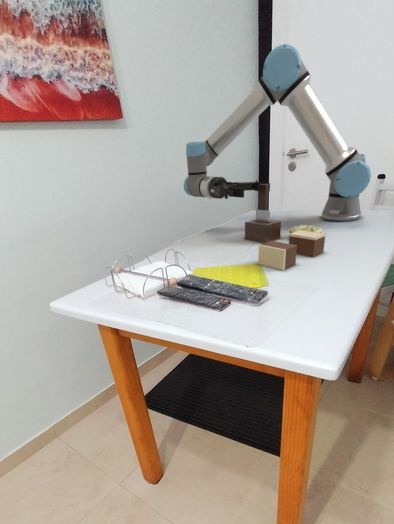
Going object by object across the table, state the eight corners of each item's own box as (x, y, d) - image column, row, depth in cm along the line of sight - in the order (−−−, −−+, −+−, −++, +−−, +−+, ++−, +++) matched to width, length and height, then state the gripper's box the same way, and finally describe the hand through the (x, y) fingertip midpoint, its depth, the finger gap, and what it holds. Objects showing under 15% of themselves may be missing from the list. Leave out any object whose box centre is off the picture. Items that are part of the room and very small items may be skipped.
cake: (298, 248, 110) (300, 230, 107) (323, 252, 104) (325, 233, 101) (288, 252, 107) (289, 233, 104) (312, 257, 101) (315, 237, 98)
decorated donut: (314, 243, 113) (316, 231, 111) (284, 240, 119) (285, 229, 117) (324, 235, 120) (326, 224, 118) (295, 233, 126) (296, 222, 124)
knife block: (259, 234, 128) (259, 218, 125) (280, 238, 122) (281, 220, 118) (244, 239, 124) (244, 222, 121) (266, 243, 117) (266, 225, 114)
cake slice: (271, 240, 99) (258, 244, 96) (297, 245, 93) (284, 250, 91) (270, 259, 102) (258, 264, 99) (295, 264, 96) (283, 270, 93)
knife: (257, 237, 125) (258, 183, 116) (270, 239, 121) (272, 184, 112) (254, 238, 124) (255, 184, 115) (266, 240, 120) (268, 185, 111)
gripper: (236, 193, 139) (278, 196, 125) (190, 203, 126) (231, 207, 112) (236, 172, 135) (279, 173, 121) (189, 181, 122) (231, 183, 108)
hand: (256, 190), depth 116 cm, fingers open, 13 cm apart
